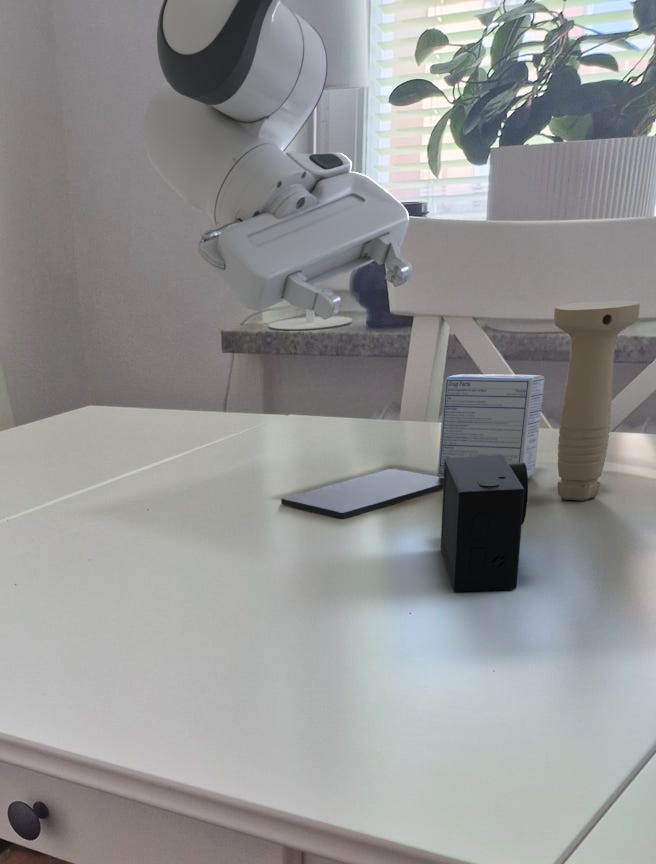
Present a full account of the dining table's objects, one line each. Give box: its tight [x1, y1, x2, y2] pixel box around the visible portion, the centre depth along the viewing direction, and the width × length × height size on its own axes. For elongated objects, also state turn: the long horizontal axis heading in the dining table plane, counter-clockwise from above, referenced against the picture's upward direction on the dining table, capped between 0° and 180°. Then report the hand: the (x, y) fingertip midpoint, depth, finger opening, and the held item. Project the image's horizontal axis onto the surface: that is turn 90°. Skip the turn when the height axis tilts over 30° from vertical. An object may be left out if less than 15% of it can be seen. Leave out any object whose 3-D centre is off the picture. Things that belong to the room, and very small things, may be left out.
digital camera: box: [440, 455, 529, 593], centre depth 83 cm, size 10×5×7 cm, turn 174°
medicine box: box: [436, 373, 546, 479], centre depth 105 cm, size 8×4×9 cm, turn 59°
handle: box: [553, 299, 641, 502], centre depth 96 cm, size 5×6×15 cm
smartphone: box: [280, 467, 444, 520], centre depth 105 cm, size 14×8×1 cm, turn 127°
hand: (370, 294), depth 105 cm, fingers open, 8 cm apart
